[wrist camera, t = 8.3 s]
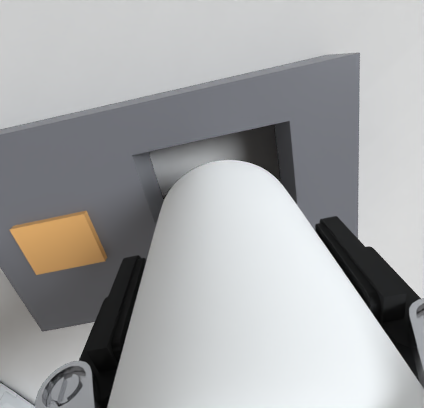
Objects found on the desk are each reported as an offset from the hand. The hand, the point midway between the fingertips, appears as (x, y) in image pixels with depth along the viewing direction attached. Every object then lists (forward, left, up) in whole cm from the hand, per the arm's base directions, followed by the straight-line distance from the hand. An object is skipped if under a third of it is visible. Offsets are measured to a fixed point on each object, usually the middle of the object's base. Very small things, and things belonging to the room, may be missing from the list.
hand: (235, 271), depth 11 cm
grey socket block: (0, -3, -9) cm, 9 cm away
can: (0, 0, -4) cm, 4 cm away
